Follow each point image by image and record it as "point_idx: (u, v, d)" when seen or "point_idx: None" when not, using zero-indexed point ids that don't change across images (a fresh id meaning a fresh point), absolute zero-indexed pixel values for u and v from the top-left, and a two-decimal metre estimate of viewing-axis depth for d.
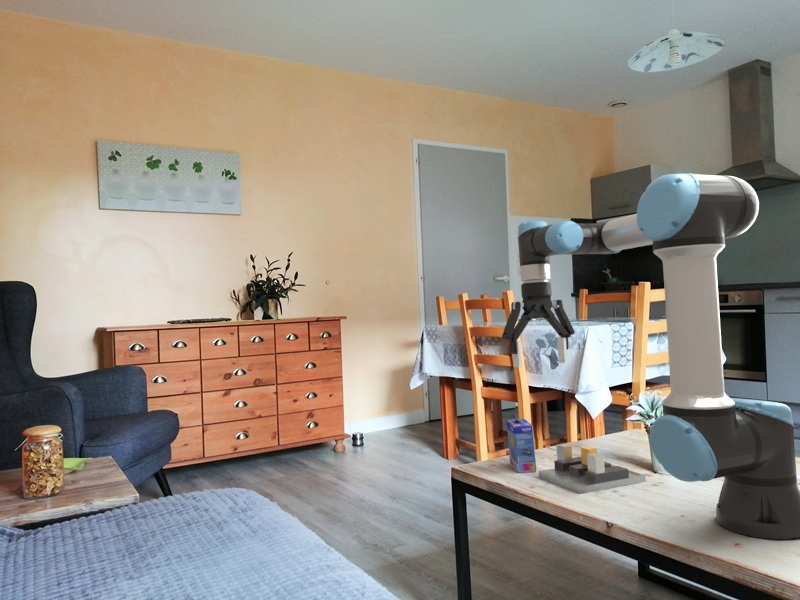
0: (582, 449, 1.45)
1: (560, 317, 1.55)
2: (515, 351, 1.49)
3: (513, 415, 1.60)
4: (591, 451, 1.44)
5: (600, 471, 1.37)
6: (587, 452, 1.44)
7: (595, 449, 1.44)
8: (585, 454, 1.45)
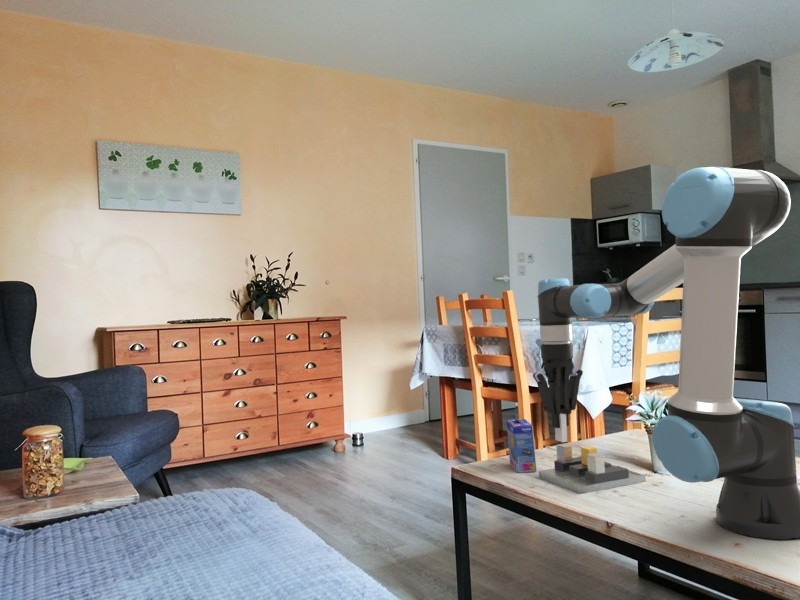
0: (582, 449, 1.45)
1: (571, 387, 1.44)
2: (558, 425, 1.42)
3: (513, 415, 1.60)
4: (591, 451, 1.44)
5: (600, 471, 1.37)
6: (587, 452, 1.44)
7: (595, 449, 1.44)
8: (585, 454, 1.45)
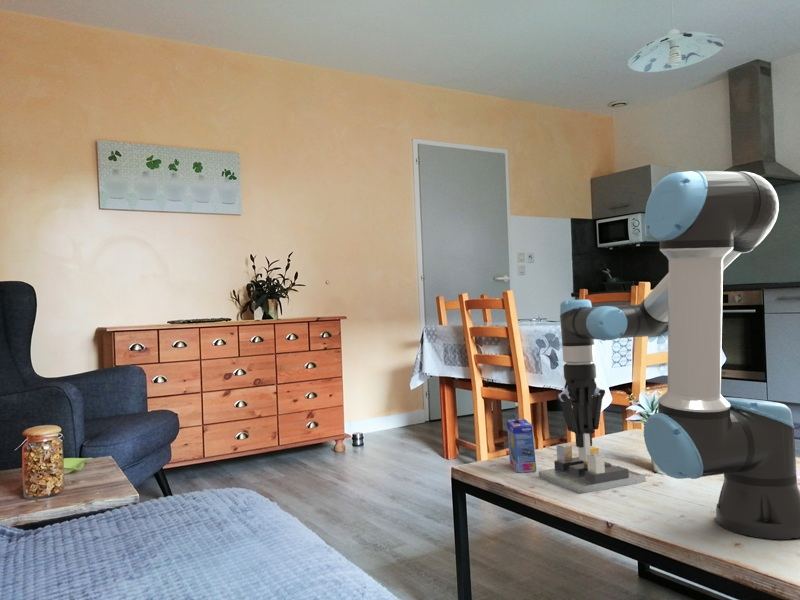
0: None
1: (594, 406, 1.46)
2: (582, 444, 1.44)
3: (513, 415, 1.60)
4: (593, 451, 1.44)
5: (600, 471, 1.37)
6: None
7: (597, 449, 1.44)
8: None
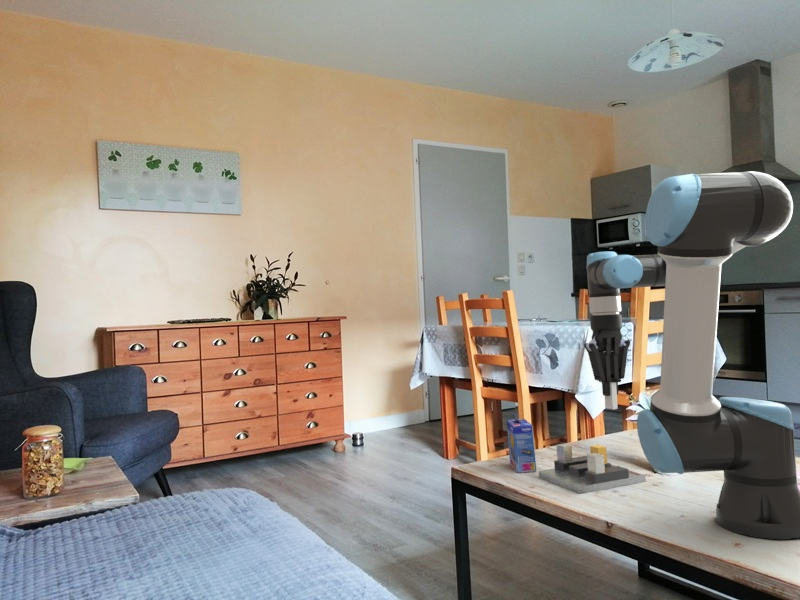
0: (592, 447, 1.46)
1: (620, 357, 1.50)
2: (608, 393, 1.47)
3: (513, 415, 1.60)
4: (600, 450, 1.45)
5: (600, 471, 1.37)
6: (596, 451, 1.45)
7: (604, 448, 1.45)
8: None
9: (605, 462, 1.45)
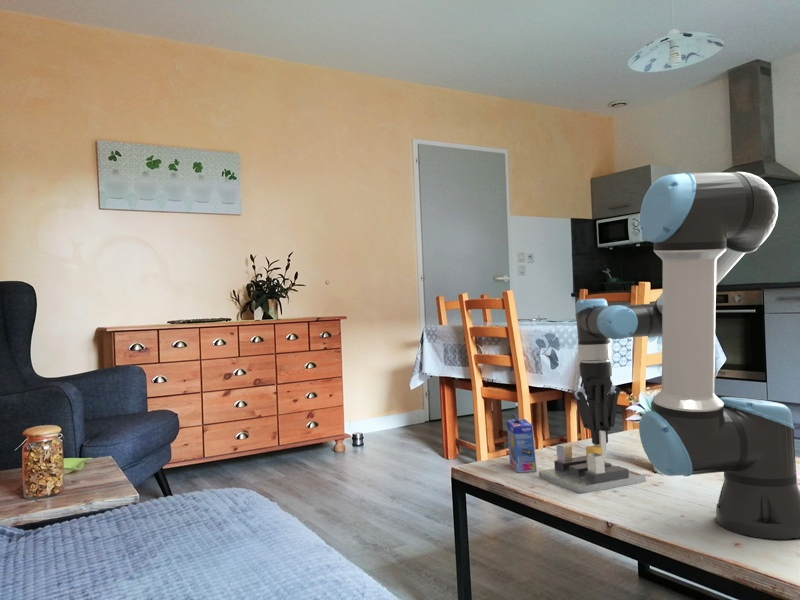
0: (588, 448, 1.46)
1: (610, 404, 1.48)
2: (598, 441, 1.45)
3: (513, 415, 1.60)
4: (596, 450, 1.44)
5: (600, 471, 1.37)
6: (592, 451, 1.44)
7: (600, 448, 1.45)
8: (590, 453, 1.45)
9: None
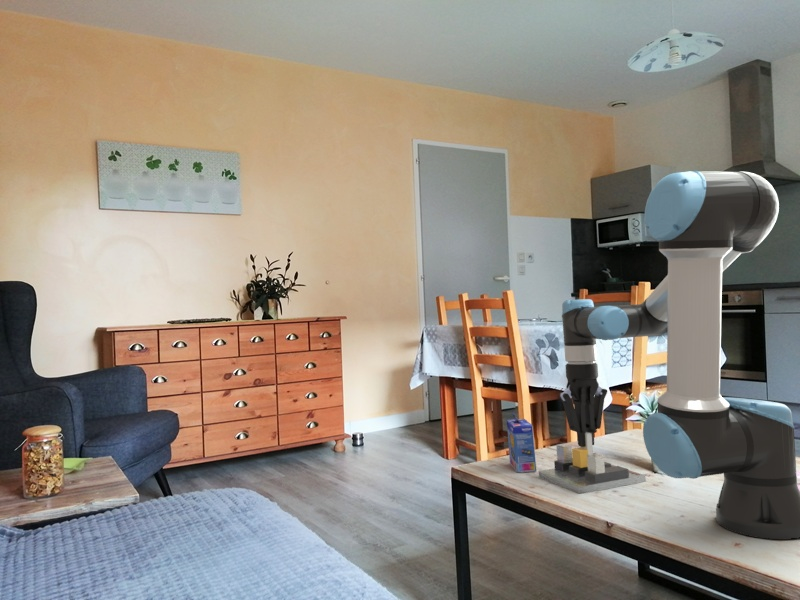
0: (574, 450, 1.45)
1: (596, 406, 1.46)
2: (584, 444, 1.44)
3: (513, 415, 1.60)
4: (582, 452, 1.43)
5: (600, 471, 1.37)
6: (578, 453, 1.43)
7: (586, 450, 1.43)
8: (576, 455, 1.44)
9: (587, 465, 1.43)
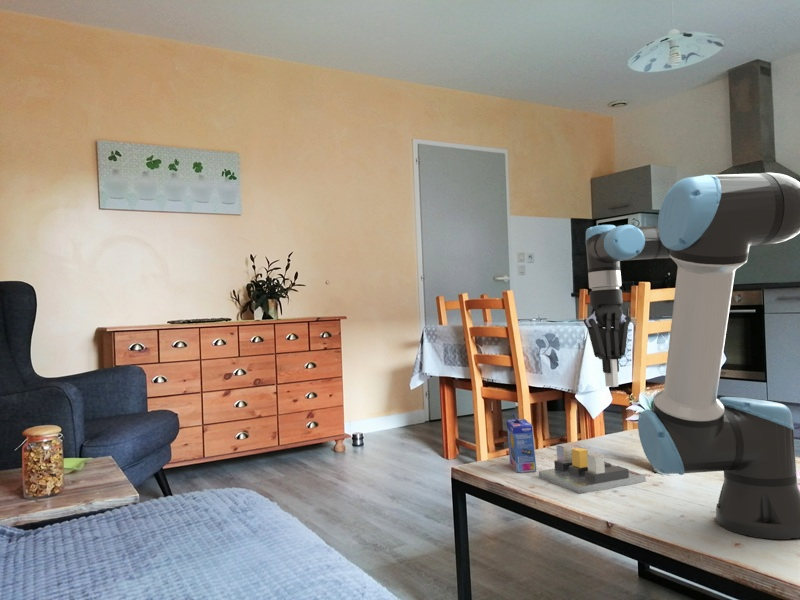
0: (573, 450, 1.45)
1: (620, 333, 1.46)
2: (609, 370, 1.43)
3: (513, 415, 1.60)
4: (581, 453, 1.43)
5: (600, 471, 1.37)
6: (577, 454, 1.43)
7: (586, 450, 1.43)
8: (576, 456, 1.44)
9: (586, 465, 1.43)
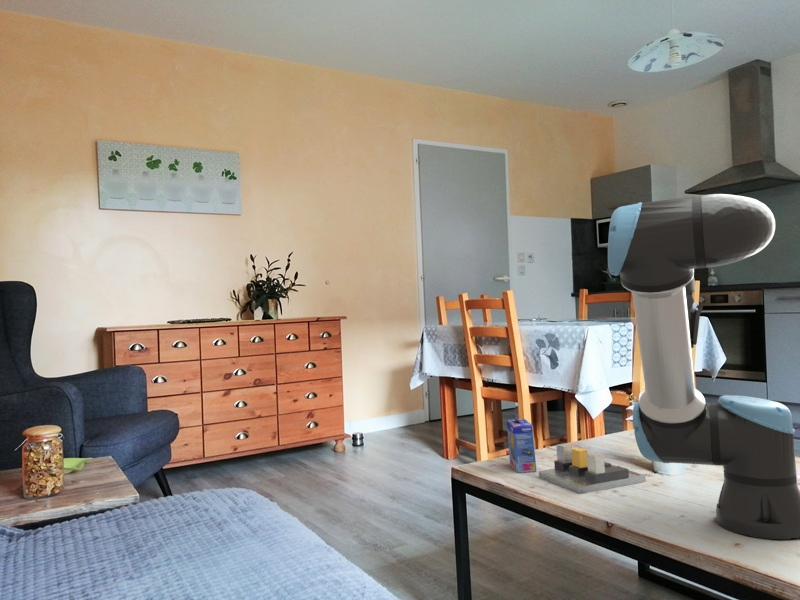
0: (573, 450, 1.45)
1: (691, 322, 1.43)
2: None
3: (513, 415, 1.60)
4: (581, 453, 1.43)
5: (600, 471, 1.37)
6: (577, 454, 1.43)
7: (586, 450, 1.43)
8: (576, 456, 1.44)
9: (586, 465, 1.43)
